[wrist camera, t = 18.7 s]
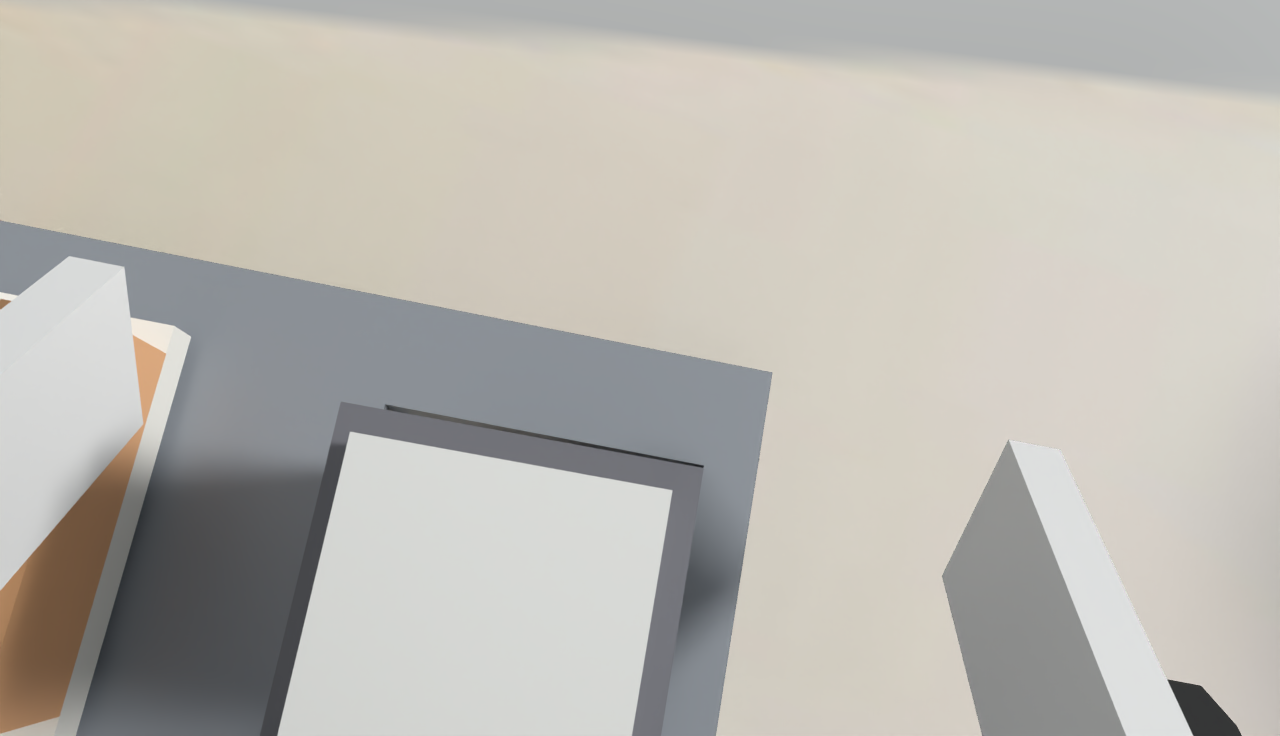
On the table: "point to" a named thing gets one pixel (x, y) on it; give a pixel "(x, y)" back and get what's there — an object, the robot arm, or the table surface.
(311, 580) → the grey block
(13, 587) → the shutter
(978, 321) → the table surface
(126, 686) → the socket plate
